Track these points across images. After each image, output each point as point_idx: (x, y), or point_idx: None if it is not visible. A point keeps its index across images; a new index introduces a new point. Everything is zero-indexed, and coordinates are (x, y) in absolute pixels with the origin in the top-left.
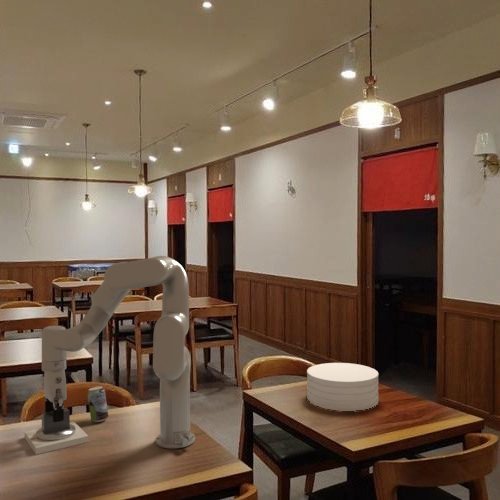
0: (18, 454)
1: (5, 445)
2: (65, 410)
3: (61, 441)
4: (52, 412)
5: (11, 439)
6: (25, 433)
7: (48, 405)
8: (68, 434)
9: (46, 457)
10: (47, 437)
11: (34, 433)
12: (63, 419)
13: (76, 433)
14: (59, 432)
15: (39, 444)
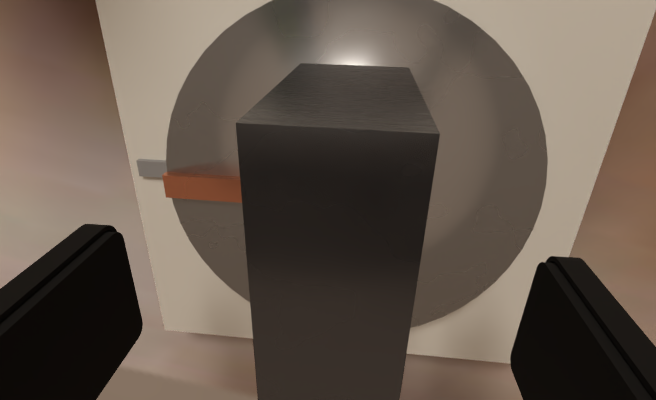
0: (429, 386)
1: (249, 391)
2: (362, 190)
3: (571, 201)
4: (321, 365)
5: (172, 352)
6: (199, 332)
7: (70, 389)
8: (540, 127)
9: (619, 302)
10: (472, 298)
11: (236, 295)
12: (580, 262)
13: (491, 8)
14: (433, 188)
15: (484, 334)
